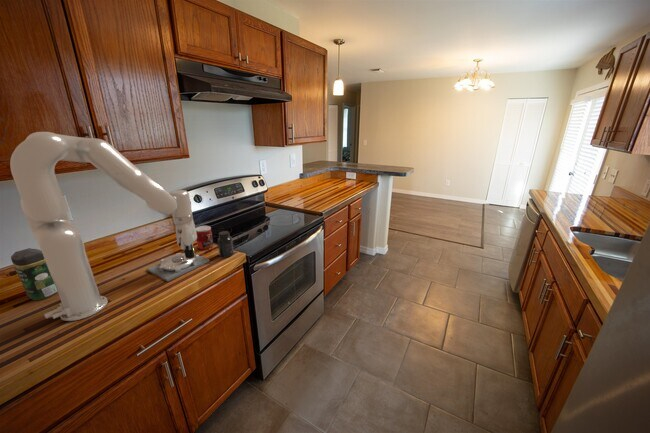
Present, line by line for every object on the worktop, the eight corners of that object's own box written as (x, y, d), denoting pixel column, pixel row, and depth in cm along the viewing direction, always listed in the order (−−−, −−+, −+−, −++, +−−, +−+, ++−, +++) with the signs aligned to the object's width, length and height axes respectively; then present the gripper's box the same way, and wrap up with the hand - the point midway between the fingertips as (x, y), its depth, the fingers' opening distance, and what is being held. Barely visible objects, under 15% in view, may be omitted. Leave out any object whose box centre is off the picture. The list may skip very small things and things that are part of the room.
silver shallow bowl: (158, 275, 111) (155, 262, 109) (161, 259, 125) (159, 247, 123) (197, 267, 118) (194, 255, 116) (196, 253, 131) (194, 241, 129)
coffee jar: (24, 296, 100) (4, 252, 94) (51, 286, 107) (35, 244, 101) (35, 303, 96) (15, 258, 90) (63, 292, 103) (46, 249, 97)
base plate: (167, 281, 109) (166, 278, 109) (146, 270, 118) (146, 267, 117) (209, 261, 125) (209, 258, 125) (189, 253, 134) (188, 250, 133)
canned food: (204, 251, 136) (201, 231, 132) (194, 248, 139) (191, 229, 136) (216, 246, 142) (214, 227, 138) (207, 243, 146) (204, 224, 142)
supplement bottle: (216, 256, 131) (213, 233, 127) (227, 250, 136) (224, 229, 133) (226, 259, 128) (223, 236, 124) (236, 253, 133) (234, 231, 130)
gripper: (184, 224, 107) (191, 264, 113) (198, 213, 121) (204, 249, 127) (165, 225, 106) (173, 265, 112) (181, 214, 121) (188, 250, 126)
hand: (190, 257), depth 119 cm, fingers closed
